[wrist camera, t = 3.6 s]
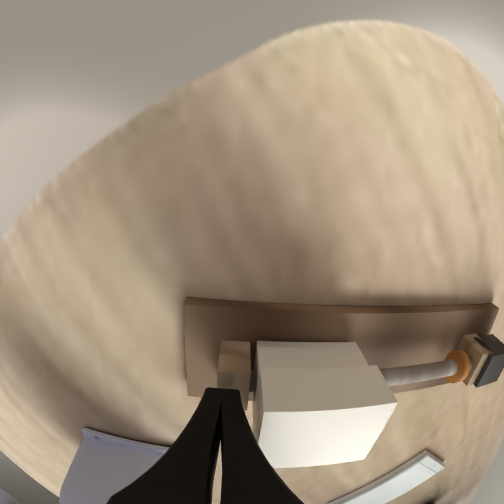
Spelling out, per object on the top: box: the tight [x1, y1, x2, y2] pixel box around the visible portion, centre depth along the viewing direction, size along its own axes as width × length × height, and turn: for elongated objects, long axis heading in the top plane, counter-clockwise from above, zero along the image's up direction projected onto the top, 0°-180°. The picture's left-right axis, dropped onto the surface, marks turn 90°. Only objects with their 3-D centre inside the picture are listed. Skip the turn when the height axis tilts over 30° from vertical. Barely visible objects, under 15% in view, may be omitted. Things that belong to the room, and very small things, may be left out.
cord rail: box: [184, 297, 504, 410], centre depth 13 cm, size 20×6×4 cm, turn 85°
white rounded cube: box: [252, 341, 398, 468], centre depth 12 cm, size 5×4×5 cm
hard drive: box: [328, 450, 445, 504], centre depth 22 cm, size 2×8×12 cm
